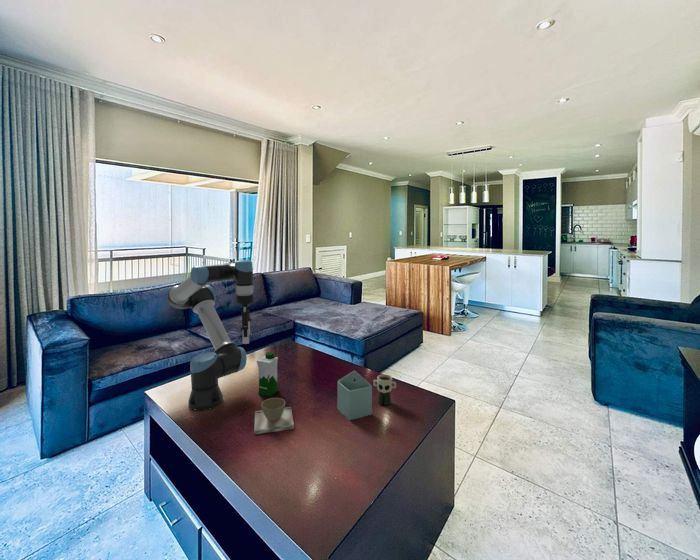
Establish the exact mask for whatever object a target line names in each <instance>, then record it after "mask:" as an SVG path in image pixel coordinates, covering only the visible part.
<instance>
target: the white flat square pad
mask: <svg viewBox="0 0 700 560" xmlns="http://www.w3.org/2000/svg"><path fill="white" fill-rule="evenodd" d="M253 429H254V430H253V434H254V435H260V434H266V433H273V432H281V431H288V430H294V429H295V424H294V418H293V411H292V406H285V408H284V411H283V413H282V416H281V417H280V419H279V420H278V421H275V422H270V421H268V420H267V418H266V417H265V415H264V413H263V410H262V409H260V410H255V411H254V428H253Z"/></svg>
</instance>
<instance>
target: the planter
mask: <svg viewBox="0 0 700 560" xmlns="http://www.w3.org/2000/svg"><path fill="white" fill-rule="evenodd" d="M354 380H355V381H354ZM337 410H338V411H339V412H340V413H341V414H342V415H343V416H344V417H345V418H346V419H347V420H348V421H352V420H358V419H361V418H364V416H365V417H369V416H372V415H371V414H373V386H372V384H371V383H370V382H369V381H367V380H366V378H365V377H363V376H362V375H361V374H360V373H358V372H357V370H353V371H351V372H350V373H348V374H346V375H344V376H343V377H342V378H340V379H338V380H337ZM368 415H369V416H368Z"/></svg>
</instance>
